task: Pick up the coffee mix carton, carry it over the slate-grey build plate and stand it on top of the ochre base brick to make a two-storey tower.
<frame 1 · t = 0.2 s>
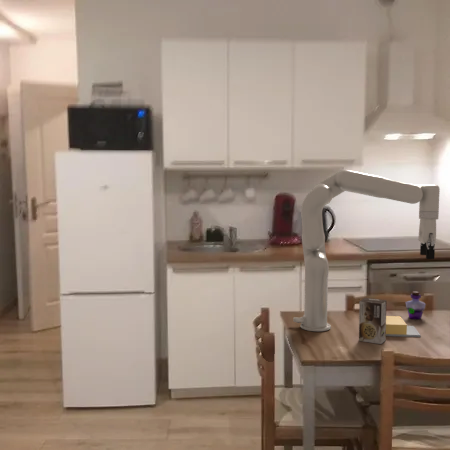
hand: (427, 256, 249), 31 cm above the table, tool pointing down, fingers open, 9 cm apart
tower base: (389, 331, 251), on the table
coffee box: (372, 341, 239), on the table
potion bottle: (414, 318, 271), on the table
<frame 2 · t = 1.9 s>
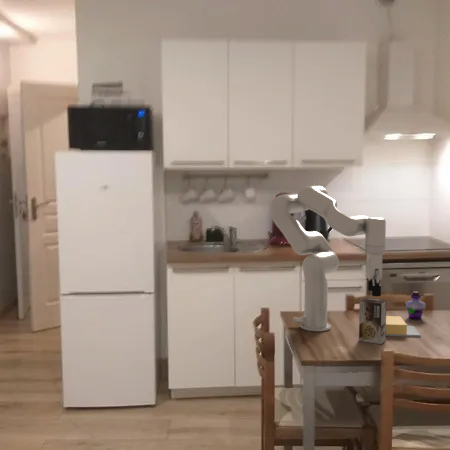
hand: (374, 293, 236), 19 cm above the table, tool pointing down, fingers open, 9 cm apart
nothing on the table moved.
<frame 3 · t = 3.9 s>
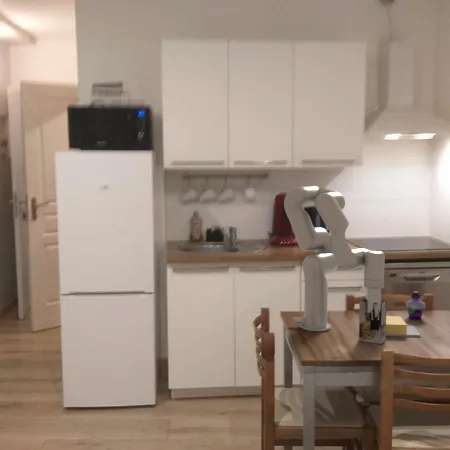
hand: (372, 326, 238), 6 cm above the table, tool pointing down, fingers closed on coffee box, 8 cm apart
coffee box: (372, 341, 239), on the table, touching gripper
everything else where it was.
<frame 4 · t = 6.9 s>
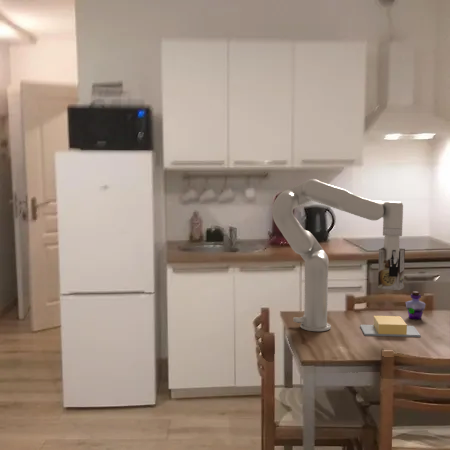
hand: (391, 274, 248), 24 cm above the table, tool pointing down, fingers closed on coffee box, 8 cm apart
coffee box: (390, 288, 248), point 18 cm above the table, touching gripper
everything else where it was.
when the fingers open (12 cm above the table, at t = 10.3 s): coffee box drops 1 cm, resting on tower base.
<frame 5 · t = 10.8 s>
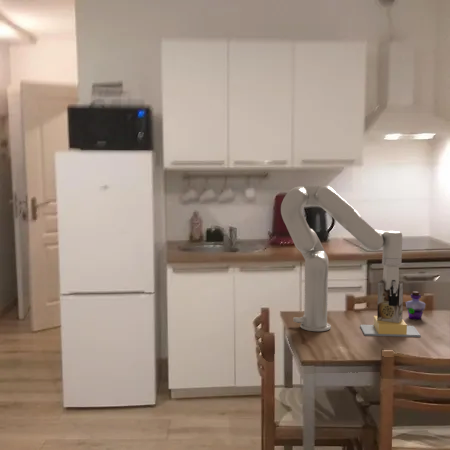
hand: (390, 302, 249), 12 cm above the table, tool pointing down, fingers open, 9 cm apart
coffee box: (389, 320, 250), point 5 cm above the table, touching tower base
everything else where it was.
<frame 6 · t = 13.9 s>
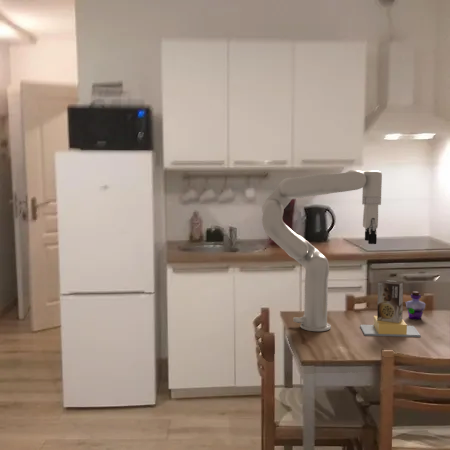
hand: (370, 242, 252), 36 cm above the table, tool pointing down, fingers open, 9 cm apart
nothing on the table moved.
at the end: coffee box 0.1 cm from the tower base (horizontally); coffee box touching tower base; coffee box tilted 0° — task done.
